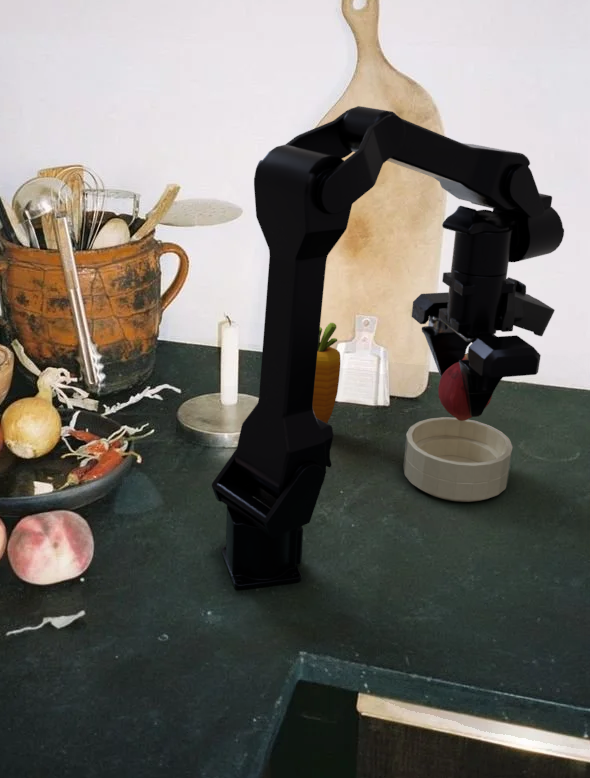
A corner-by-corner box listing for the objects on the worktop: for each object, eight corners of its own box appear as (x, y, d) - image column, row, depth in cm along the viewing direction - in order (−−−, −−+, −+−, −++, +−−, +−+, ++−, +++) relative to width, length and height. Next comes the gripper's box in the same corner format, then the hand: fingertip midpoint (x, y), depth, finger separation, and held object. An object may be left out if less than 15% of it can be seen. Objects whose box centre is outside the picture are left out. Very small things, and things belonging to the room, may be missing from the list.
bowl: (428, 510, 101) (432, 469, 99) (388, 459, 111) (391, 421, 109) (525, 499, 103) (531, 459, 101) (477, 450, 114) (482, 413, 112)
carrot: (291, 426, 119) (296, 315, 113) (328, 422, 120) (334, 312, 115) (305, 444, 114) (311, 329, 109) (343, 439, 116) (351, 325, 110)
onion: (488, 435, 101) (498, 366, 98) (434, 428, 102) (442, 361, 99) (487, 412, 106) (495, 346, 104) (435, 406, 107) (442, 341, 105)
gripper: (598, 292, 91) (574, 436, 97) (505, 242, 108) (489, 367, 114) (494, 298, 89) (475, 445, 94) (416, 246, 106) (404, 373, 111)
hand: (462, 404), depth 103 cm, fingers closed on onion, 6 cm apart
